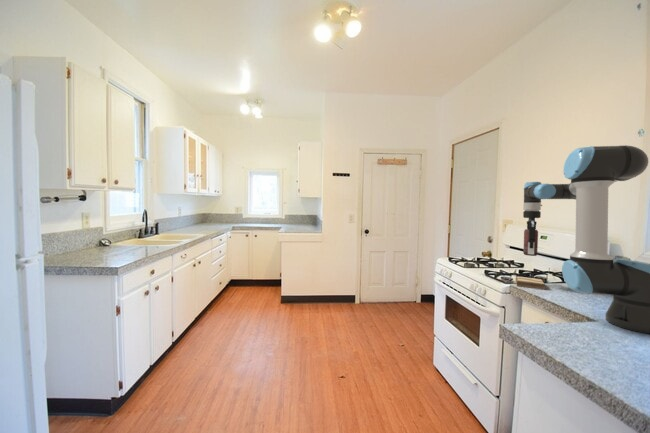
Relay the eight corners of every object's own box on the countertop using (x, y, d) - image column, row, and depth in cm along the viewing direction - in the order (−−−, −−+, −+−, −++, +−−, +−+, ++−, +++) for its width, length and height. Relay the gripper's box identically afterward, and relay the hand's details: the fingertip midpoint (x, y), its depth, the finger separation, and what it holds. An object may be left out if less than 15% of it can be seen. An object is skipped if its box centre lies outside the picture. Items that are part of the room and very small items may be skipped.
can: (524, 255, 150) (525, 229, 150) (522, 253, 156) (523, 228, 155) (538, 256, 147) (539, 230, 147) (536, 254, 153) (536, 229, 152)
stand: (545, 289, 143) (545, 284, 142) (516, 286, 149) (517, 280, 149) (541, 284, 153) (542, 279, 153) (515, 281, 159) (515, 276, 159)
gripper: (542, 210, 141) (541, 256, 141) (538, 210, 155) (537, 252, 155) (524, 210, 145) (523, 255, 145) (522, 210, 159) (520, 251, 159)
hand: (530, 253), depth 150 cm, fingers open, 3 cm apart
